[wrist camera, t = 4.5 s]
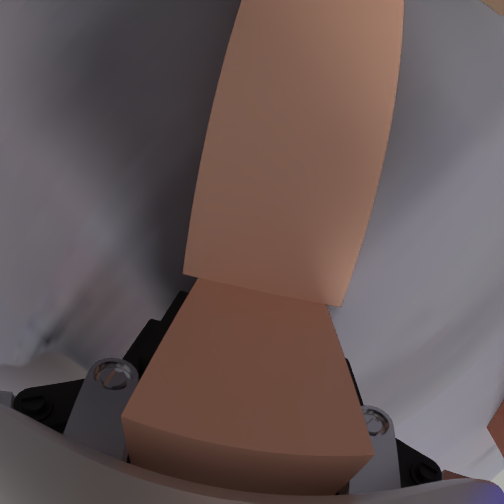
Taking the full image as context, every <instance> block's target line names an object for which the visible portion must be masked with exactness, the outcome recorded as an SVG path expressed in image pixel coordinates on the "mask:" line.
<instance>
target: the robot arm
mask: <svg viewBox="0 0 504 504" xmlns="http://www.w3.org/2000/svg"><path fill="white" fill-rule="evenodd" d="M188 294H189V293H188V292H184V291H180V292H179V293H178V295H177V296H176V298H175V300H174V301H173V303H172V304H171V306H170V307H169V309H168V310H167V312H166V313H165V315H164V317H163V318H162V320H161V321H158V320H154V319H150V320H149V321H148V323H147V324H146V326H145V327H144V328H143V330H142V331H141V333H140V334H139V336H138V337H137V338H136V340H135V341H134V343H133V344H132V346H131V347H130V349H129V350H128V352H127V353H126V355H125V356H124V358H123V359H119V358H104V359H101V360H98V361H97V362H95V363H94V364H92V366H91V367H90V369H89V371H88V373H87V375H86V378H85V379H81V380H76V381H70V382H64V383H58V384H52V385H45V386H38V387H31V388H28V389H24V390H23V391H21V392H20V393H19V394H18V395H17V396H14V395H13V393H12V392H6V391H0V504H504V493H503V491H502V490H501V488H500V487H499V486H498V485H496V484H494V483H493V482H490V481H487V480H481V479H472V478H469V477H466V476H462V475H459V474H456V473H453V472H450V471H447V470H443V471H442V472H441V470H440V467H439V466H438V465H437V464H436V463H435V462H434V461H433V460H431V459H430V458H428V457H426V456H425V455H423V454H421V453H419V452H418V451H416V450H414V449H413V448H411V447H409V446H408V445H406V444H405V443H403V442H401V441H400V440H398V439H397V438H395V432H394V426H393V422H392V420H391V418H390V417H389V415H388V414H387V413H385V412H384V411H383V410H381V409H379V408H377V407H374V406H367V405H363V402H362V399H361V396H360V393H359V390H358V387H357V384H356V381H355V378H354V375H353V372H352V369H351V366H350V363H349V361H348V359H346V358H345V360H346V363H347V366H348V369H349V372H350V375H351V378H352V381H353V384H354V387H355V390H356V393H357V396H358V399H359V403H360V406H361V409H362V412H363V415H364V419H365V422H366V425H367V429H368V432H369V436H370V439H371V443H372V446H373V450H374V453H375V455H374V456H373V457H372V458H371V460H370V461H369V462H368V463H367V464H366V465H365V466H364V467H363V468H362V469H361V470H360V471H359V472H358V473H357V474H356V475H355V476H354V477H353V478H352V479H351V480H350V481H349V482H348V483H347V484H346V485H345V486H344V487H342V488H341V489H340V490H339V491H338V492H337V493H336V494H335V495H328V496H297V495H276V494H264V493H254V492H245V491H238V490H231V489H225V488H219V487H213V486H208V485H203V484H199V483H194V482H190V481H186V480H181V479H177V478H174V477H170V476H166V475H163V474H159V473H156V472H153V471H150V470H146V469H143V468H140V467H137V466H135V465H132V464H131V462H130V458H129V454H128V450H127V445H126V441H125V436H124V431H123V426H122V420H121V415H122V413H123V411H124V409H125V407H126V405H127V403H128V401H129V400H130V398H131V396H132V394H133V392H134V390H135V388H136V387H137V385H138V383H139V381H140V379H141V377H142V375H143V374H144V372H145V370H146V368H147V366H148V365H149V363H150V361H151V359H152V357H153V356H154V354H155V352H156V350H157V348H158V347H159V345H160V343H161V341H162V339H163V338H164V336H165V334H166V332H167V331H168V329H169V327H170V325H171V324H172V322H173V320H174V318H175V317H176V315H177V313H178V311H179V310H180V308H181V306H182V305H183V303H184V301H185V299H186V298H187V296H188Z"/></svg>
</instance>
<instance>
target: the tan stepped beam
mask: <svg viewBox="0 0 504 504" xmlns="http://www.w3.org/2000/svg"><path fill="white" fill-rule="evenodd" d="M403 13H404V0H242V1H241V4H240V7H239V10H238V13H237V16H236V20H235V23H234V26H233V30H232V33H231V37H230V40H229V44H228V47H227V51H226V54H225V58H224V62H223V66H222V69H221V73H220V77H219V81H218V85H217V89H216V93H215V98H214V102H213V106H212V110H211V115H210V119H209V124H208V128H207V133H206V138H205V142H204V147H203V152H202V157H201V162H200V167H199V173H198V178H197V184H196V189H195V195H194V201H193V207H192V213H191V219H190V225H189V232H188V238H187V245H186V252H185V259H184V267H183V274H185V275H189V276H193V277H198V279H197V281H196V282H195V284H194V286H193V287H192V289H191V291H190V293H189V294H188V296H187V298H186V299H185V301H184V303H183V305H182V306H181V308H180V310H179V311H178V313H177V315H176V317H175V318H174V320H173V322H172V324H171V325H170V327H169V329H168V331H167V332H166V334H165V336H164V338H163V339H162V341H161V343H160V345H159V347H158V348H157V350H156V352H155V354H154V356H153V357H152V359H151V361H150V363H149V365H148V366H147V368H146V370H145V372H144V374H143V375H142V377H141V379H140V381H139V383H138V385H137V387H136V388H135V390H134V392H133V394H132V396H131V398H130V400H129V401H128V403H127V405H126V407H125V409H124V411H123V413H122V415H121V420H122V426H123V431H124V436H125V441H126V445H127V450H128V454H129V458H130V462H131V464H132V465H135V466H137V467H140V468H143V469H146V470H150V471H153V472H156V473H159V474H163V475H166V476H170V477H174V478H177V479H181V480H186V481H190V482H194V483H199V484H203V485H208V486H213V487H219V488H225V489H231V490H238V491H245V492H254V493H264V494H276V495H297V496H328V495H335V494H336V493H337V492H338V491H339V490H340V489H341V488H342V487H344V486H345V485H346V484H347V483H348V482H349V481H350V480H351V479H352V478H353V477H354V476H355V475H356V474H357V473H358V472H359V471H360V470H361V469H362V468H363V467H364V466H365V465H366V464H367V463H368V462H369V461H370V460H371V458H372V457H373V456H374V455H375V453H374V450H373V446H372V443H371V439H370V436H369V432H368V429H367V425H366V422H365V419H364V415H363V412H362V409H361V406H360V403H359V399H358V396H357V393H356V390H355V387H354V384H353V381H352V378H351V375H350V372H349V369H348V366H347V363H346V360H345V357H344V354H343V351H342V348H341V345H340V342H339V339H338V336H337V334H336V331H335V328H334V325H333V322H332V320H331V317H330V314H329V311H328V309H327V306H326V305H331V306H336V307H341V305H342V302H343V299H344V296H345V294H346V291H347V288H348V285H349V282H350V279H351V276H352V273H353V270H354V267H355V264H356V261H357V258H358V255H359V252H360V249H361V245H362V242H363V239H364V236H365V232H366V229H367V225H368V222H369V218H370V215H371V211H372V207H373V203H374V200H375V196H376V192H377V188H378V184H379V179H380V175H381V171H382V167H383V162H384V157H385V153H386V148H387V143H388V138H389V133H390V127H391V122H392V116H393V110H394V104H395V97H396V90H397V83H398V75H399V66H400V57H401V46H402V33H403Z"/></svg>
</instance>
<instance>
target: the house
mask: <svg viewBox="0 0 504 504" xmlns="http://www.w3.org/2000/svg"><path fill="white" fill-rule="evenodd" d="M487 429H488V431H489V432H490V434H491V436H492V437H493V439H494V441H495V443H496V445H497V446H498V448H499V450H500V452H501V454H502V455H503V457H504V400H503V402H502V404H501V405H500V407H499V409H498V410H497V412H496V414H495V415H494V417H493V418H492V420H491V421H490V423H489V425H488V426H487Z"/></svg>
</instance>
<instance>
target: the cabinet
mask: <svg viewBox="0 0 504 504" xmlns="http://www.w3.org/2000/svg"><path fill="white" fill-rule="evenodd" d="M481 1H482V2H484V3H485V4H487V5H488V6H489V7H491V8H492V9H493V10H494V11H496V12H497V13H498V14H499V15H501V16H502V15H504V0H481Z"/></svg>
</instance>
